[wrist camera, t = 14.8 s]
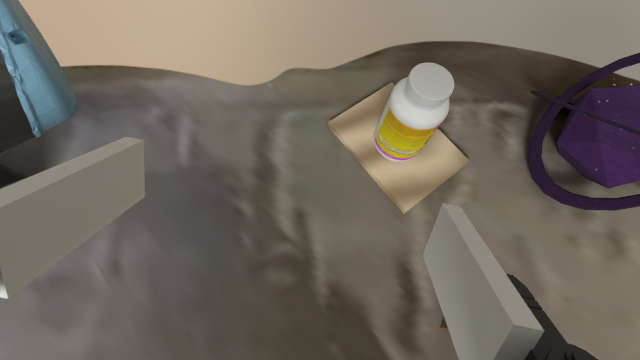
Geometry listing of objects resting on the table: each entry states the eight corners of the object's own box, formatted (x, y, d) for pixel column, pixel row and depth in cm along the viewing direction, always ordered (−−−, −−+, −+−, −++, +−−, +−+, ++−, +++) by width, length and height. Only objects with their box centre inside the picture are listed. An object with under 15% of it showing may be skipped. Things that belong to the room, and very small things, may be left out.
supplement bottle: (418, 168, 44) (463, 114, 32) (369, 158, 44) (395, 100, 32) (422, 126, 46) (465, 61, 34) (376, 116, 46) (403, 49, 35)
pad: (327, 125, 47) (328, 122, 46) (390, 86, 50) (392, 82, 49) (403, 214, 42) (406, 211, 41) (466, 164, 46) (470, 161, 45)
